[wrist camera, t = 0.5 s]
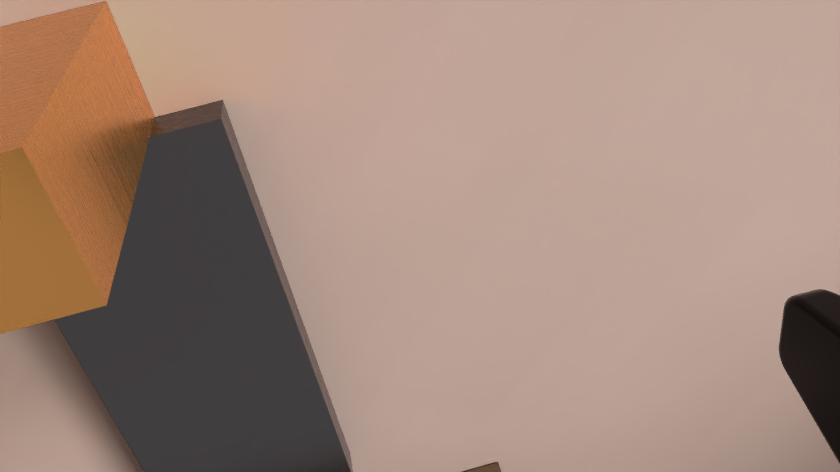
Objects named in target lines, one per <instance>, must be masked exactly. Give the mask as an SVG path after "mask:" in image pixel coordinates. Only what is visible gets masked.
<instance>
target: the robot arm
mask: <svg viewBox="0 0 840 472" xmlns="http://www.w3.org/2000/svg"><path fill="white" fill-rule="evenodd" d="M779 354H780V358H781V362H782V364H783V367H784V368H785V370H786V372H787V374H788V376H789V377H790V379H791V381H792V382H793V384H794V386H795V388H796V389H797V391H798V393H799V394H800V396H801V398H802V400H803V401H804V403H805V405H806V406H807V408H808V410H809V412H810V413H811V415H812V417H813V419H814V420H815V422H816V424H817V425H818V427H819V429H820V431H821V432H822V434H823V436H824V437H825V439H826V441H827V443H828V444H829V446H830V448H831V449H832V451H833V453H834V455H835V456H836V458H837V460H838V461H839V463H840V295H838V294H835V293H833V292H830V291H827V290H822V289H820V290H813V291H810V292H806V293H802V294H798V295H794V296H792V297H790V298H788V300H787V301H786V303H785V306H784V312H783V319H782V327H781V335H780V343H779Z"/></svg>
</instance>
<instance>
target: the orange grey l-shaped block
mask: <svg viewBox="0 0 840 472" xmlns="http://www.w3.org/2000/svg"><path fill="white" fill-rule="evenodd" d="M50 320H55V322H56V323H57V325H58V327H59V328H60V330H61V332H62V333H63V335H64V337H65V338H66V340H67V342H68V344H69V345H70V347H71V349H72V350H73V352H74V354H75V355H76V357H77V359H78V361H79V362H80V364H81V366H82V367H83V369H84V371H85V372H86V374H87V376H88V377H89V379H90V381H91V383H92V384H93V386H94V388H95V389H96V391H97V393H98V394H99V396H100V398H101V399H102V401H103V403H104V405H105V406H106V408H107V410H108V411H109V413H110V415H111V416H112V418H113V420H114V421H115V423H116V425H117V427H118V428H119V430H120V432H121V433H122V435H123V437H124V438H125V440H126V442H127V443H128V445H129V447H130V449H131V450H132V452H133V454H134V455H135V457H136V459H137V460H138V462H139V464H140V466H141V467H142V469H143V471H144V472H353V470H352V464H351V457H350V452H349V449H348V446H347V443H346V441H345V438H344V435H343V432H342V430H341V427H340V424H339V421H338V419H337V416H336V413H335V410H334V407H333V405H332V402H331V399H330V396H329V394H328V391H327V388H326V385H325V382H324V380H323V377H322V374H321V371H320V369H319V366H318V363H317V360H316V358H315V355H314V352H313V349H312V346H311V344H310V341H309V338H308V335H307V333H306V330H305V327H304V324H303V322H302V319H301V316H300V313H299V310H298V308H297V305H296V302H295V299H294V297H293V294H292V291H291V288H290V286H289V283H288V280H287V277H286V274H285V272H284V269H283V266H282V263H281V261H280V258H279V255H278V252H277V249H276V247H275V244H274V241H273V238H272V236H271V233H270V230H269V227H268V225H267V222H266V219H265V216H264V213H263V211H262V208H261V205H260V202H259V200H258V197H257V194H256V191H255V189H254V186H253V183H252V180H251V177H250V175H249V172H248V169H247V166H246V164H245V161H244V158H243V155H242V153H241V150H240V147H239V144H238V141H237V139H236V136H235V133H234V130H233V128H232V125H231V122H230V119H229V116H228V114H227V111H226V108H225V105H224V103H223V100H221V101H217V102H213V103H210V104H206V105H202V106H198V107H194V108H190V109H186V110H182V111H178V112H174V113H171V114H167V115H163V116H159V117H154V114H153V112H152V110H151V107H150V105H149V102H148V100H147V98H146V95H145V93H144V90H143V88H142V86H141V83H140V81H139V79H138V76H137V74H136V71H135V69H134V67H133V64H132V62H131V59H130V57H129V55H128V52H127V50H126V48H125V45H124V43H123V40H122V38H121V36H120V33H119V31H118V28H117V26H116V24H115V21H114V19H113V16H112V14H111V12H110V9H109V7H108V5H107V2H106V1H104V2H100V3H96V4H92V5H88V6H84V7H80V8H76V9H72V10H68V11H64V12H60V13H56V14H51V15H47V16H43V17H39V18H35V19H31V20H27V21H23V22H19V23H15V24H11V25H7V26H3V27H0V334H1V333H5V332H9V331H13V330H16V329H20V328H24V327H28V326H31V325H35V324H39V323H43V322H46V321H50Z"/></svg>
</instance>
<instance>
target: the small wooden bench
mask: <svg viewBox="0 0 840 472" xmlns="http://www.w3.org/2000/svg"><path fill="white" fill-rule="evenodd" d="M465 472H501V470H500V467H499V464H498V462H497V463H493V464H490V465H486V466H483V467H479V468H476V469H472V470H469V471H465Z"/></svg>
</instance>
